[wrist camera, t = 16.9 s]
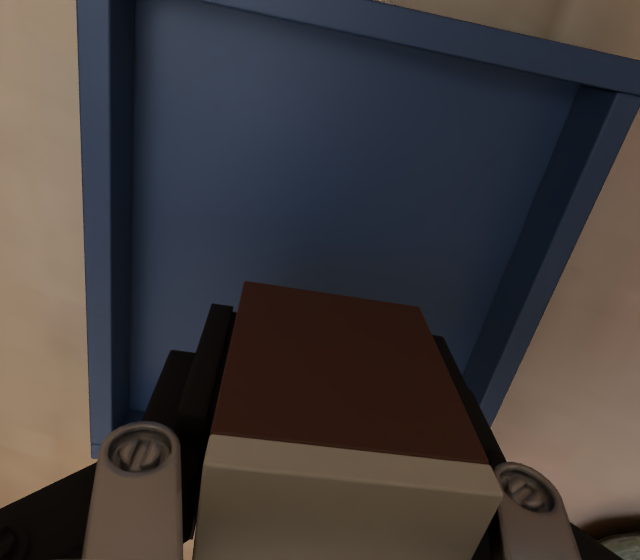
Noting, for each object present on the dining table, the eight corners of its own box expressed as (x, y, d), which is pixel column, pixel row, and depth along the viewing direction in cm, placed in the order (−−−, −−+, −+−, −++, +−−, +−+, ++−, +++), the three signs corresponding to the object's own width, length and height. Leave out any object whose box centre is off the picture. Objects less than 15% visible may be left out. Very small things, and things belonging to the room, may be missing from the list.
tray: (112, -51, 13) (72, -68, 11) (606, 60, 15) (660, 64, 12) (113, 412, 20) (90, 459, 18) (442, 451, 22) (458, 498, 20)
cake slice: (243, 280, 12) (202, 464, 7) (420, 305, 12) (505, 496, 7) (225, 418, 13) (182, 643, 8) (377, 435, 14) (421, 657, 9)
